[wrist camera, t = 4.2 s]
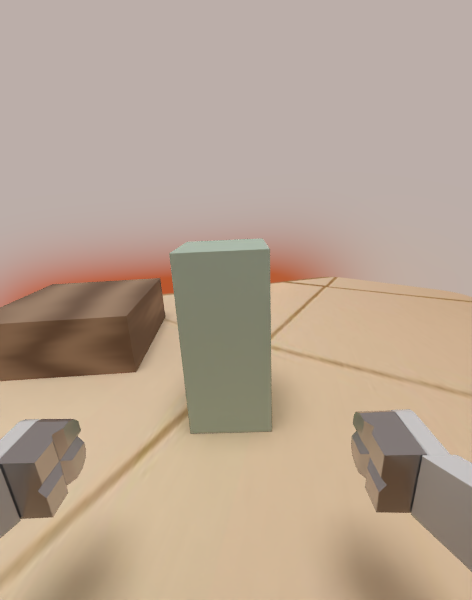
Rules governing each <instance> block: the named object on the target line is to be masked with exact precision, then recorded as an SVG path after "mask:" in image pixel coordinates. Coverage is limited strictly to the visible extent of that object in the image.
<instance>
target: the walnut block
mask: <svg viewBox="0 0 472 600" xmlns="http://www.w3.org/2000/svg"><path fill="white" fill-rule="evenodd" d="M164 318H165V311H164V304H163V296H162V289H161V281H160V278H157V279H139V280H122V281H106V282H88V283H72V284H53V285H50V286H48V287H46V288H43V289H41V290H39V291H37V292H34V293H32V294H30V295H28V296H25V297H23V298H21V299H19V300H16V301H14V302H12V303H10V304H7V305H5V306H3V307H1V308H0V381H8V380H23V379H38V378H54V377H69V376H84V375H99V374H114V373H129V372H136V371H137V369H138V368H139V366H140V364H141V362H142V360H143V358H144V356H145V354H146V352H147V351H148V349H149V347H150V345H151V343H152V341H153V339H154V337H155V335H156V333H157V332H158V330H159V328H160V326H161V324H162V322H163V320H164Z"/></svg>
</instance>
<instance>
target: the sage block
mask: <svg viewBox="0 0 472 600" xmlns="http://www.w3.org/2000/svg"><path fill="white" fill-rule="evenodd" d="M170 263H171V271H172V280H173V289H174V297H175V306H176V314H177V322H178V331H179V339H180V348H181V356H182V365H183V373H184V382H185V390H186V399H187V407H188V416H189V424H190V432H191V434H197V433H234V432H270V431H272V399H271V311H270V249H269V247H268V246H267V244H266V243H265V241H264V240H263V239H242V240H220V241H201V242H200V241H199V242H186V243H185V244H183V245H182V246H180V247H179V248H177V249H176V250H174V251H173V252H171V253H170Z"/></svg>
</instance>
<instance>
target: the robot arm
mask: <svg viewBox="0 0 472 600" xmlns="http://www.w3.org/2000/svg"><path fill="white" fill-rule="evenodd" d="M353 424H354V426H355V428H356V430H357V431H356V432H355V433H354V434H353V435H352V440H351V448H352V456H353V459H354V463H355V465H356V468H357V470H358V472H359V473H360V474H361V475H362V476H364V477H365V478H366V484H365V488H366V491H367V493H368V495H369V497H370V499H371V502H372V504H373V506H374V508H375V510H376V512H389V513H411V515H412V516H413V517H414V518H415V519H416V520H417V521H418V522H419V523H420V524H421V525H423V526H424V527H425V528H426V529H427V530H428V531H429V532H430V533H431V534H432V535H433V536H434V537H435V538H436V539H437V540H439V541H440V542H441V543H442V544H443V545H444V546H445V547H446V548H447V549H448V550H449V551H450V552H451V553H452V554H453V555H454V556H456V557H457V558H458V559H459V560H460V561H461V562H462V563H463V564H464V565H465V566H466V567H467V568H468V569H469V570H470V571H472V463H471V462H469V461H467V460H465V459H463V458H462V457H460V456H458V455H450V453H449V452H448V451H447V450H446V449H445V448H444V446H443V445H442V444H441V443H440V442H439V441H438V439H437V438H436V437H435V436H434V435H433V434H432V432H431V431H430V430H429V429H428V428H427V427H426V425H425V424H424V423H423V422H422V421H421V420H420V418H419V417H418V416H417V415H416V414H415V413H414V412H413V411H412V410H410V409H405V410H391V411H366V412H355V414H354V418H353ZM80 431H81V429H80V426H79V422H78V421H77V420H74V419H41V420H39V419H28V420H23V421H20V422H18V423H17V424H16V425H15V426H14V427H13V428H12V429H11V430H10V431H9V432H8V433H7V434H6V435H5V436H4V437H3V438H2V439H1V440H0V538H1V537H2V536H4V535H5V534H6V533H7V532H8V531H9V530H10V529H12V528H13V527H14V526H15V525H16V524H17V523H19V522H20V519H27V518H48V517H54V515H55V513H56V512H57V510H58V508H59V507H60V505H61V503H62V502H63V500H64V499H65V497H66V495H67V494H68V489H67V485H68V484H70V483H71V482H72V481H74V480H75V479H76V478H77V477H78V475H79V474H80V472H81V470H82V469H83V465H84V462H85V458H86V448H85V444H84V442H83V441H82V440H81V439H80V438H79V437H78V434H79V433H80Z"/></svg>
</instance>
